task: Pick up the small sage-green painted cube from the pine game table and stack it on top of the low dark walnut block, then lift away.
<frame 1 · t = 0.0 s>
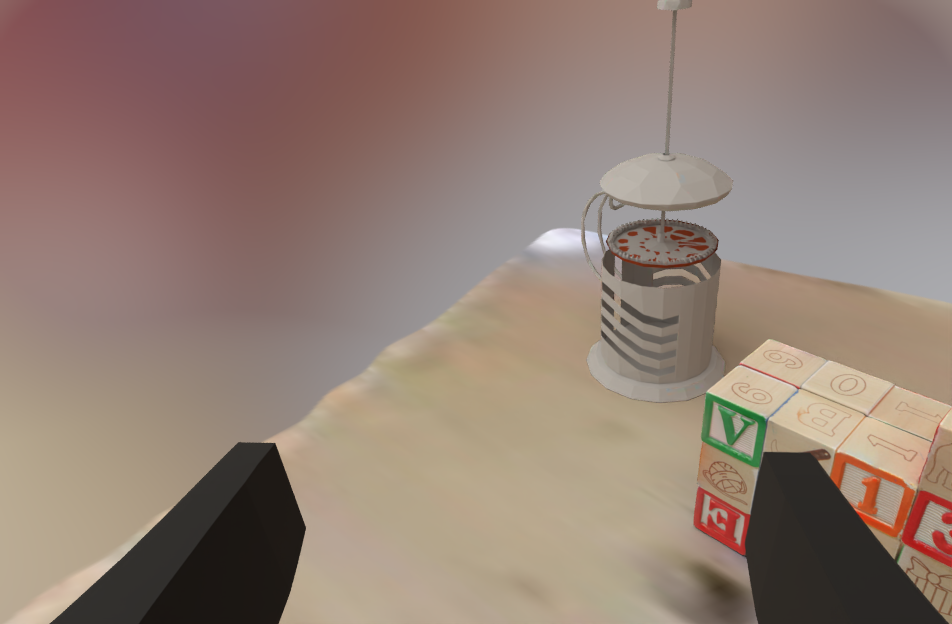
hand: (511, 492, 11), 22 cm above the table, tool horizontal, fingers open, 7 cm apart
stack of blocks: (930, 618, 32), on the table
french press: (645, 358, 51), on the table
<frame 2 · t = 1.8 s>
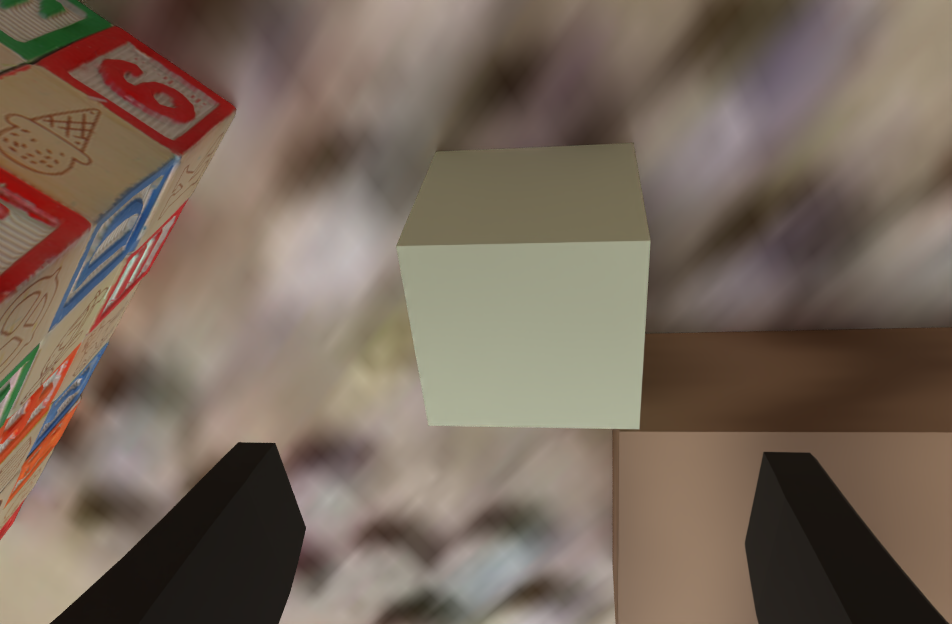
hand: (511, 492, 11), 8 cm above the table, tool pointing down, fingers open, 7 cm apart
sage cube: (536, 232, 17), on the table
stack of blocks: (9, 309, 21), on the table
walnut block: (780, 456, 21), on the table
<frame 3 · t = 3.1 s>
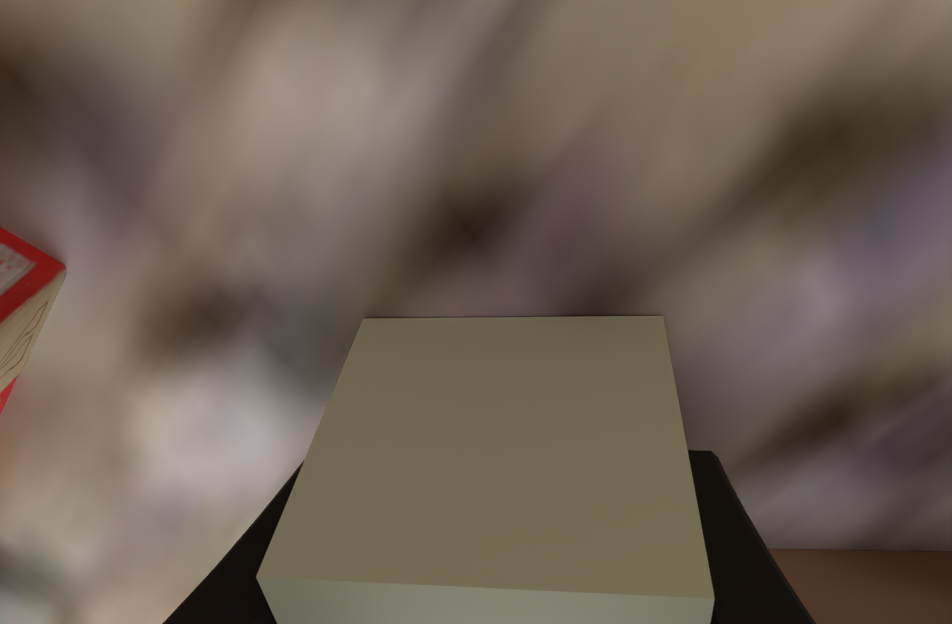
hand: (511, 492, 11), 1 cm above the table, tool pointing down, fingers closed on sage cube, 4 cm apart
sage cube: (517, 425, 12), on the table, touching gripper
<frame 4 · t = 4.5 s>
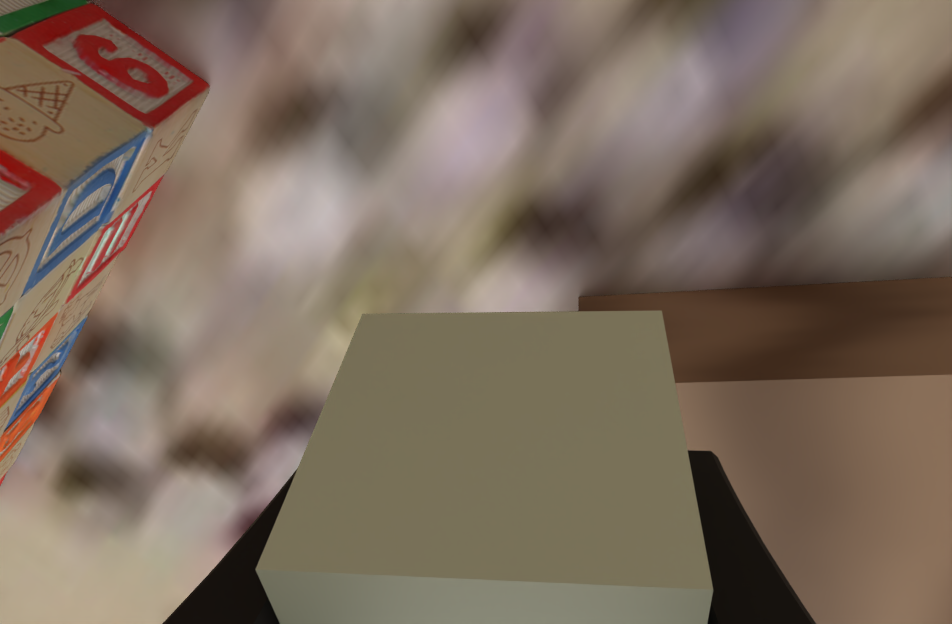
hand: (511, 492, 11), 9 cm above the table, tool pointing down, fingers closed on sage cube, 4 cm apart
sage cube: (516, 421, 12), point 7 cm above the table, touching gripper
walnut block: (752, 416, 21), on the table
when the fingers open (6 cm above the table, at t = 6.2 s): sage cube drops 1 cm, resting on walnut block.
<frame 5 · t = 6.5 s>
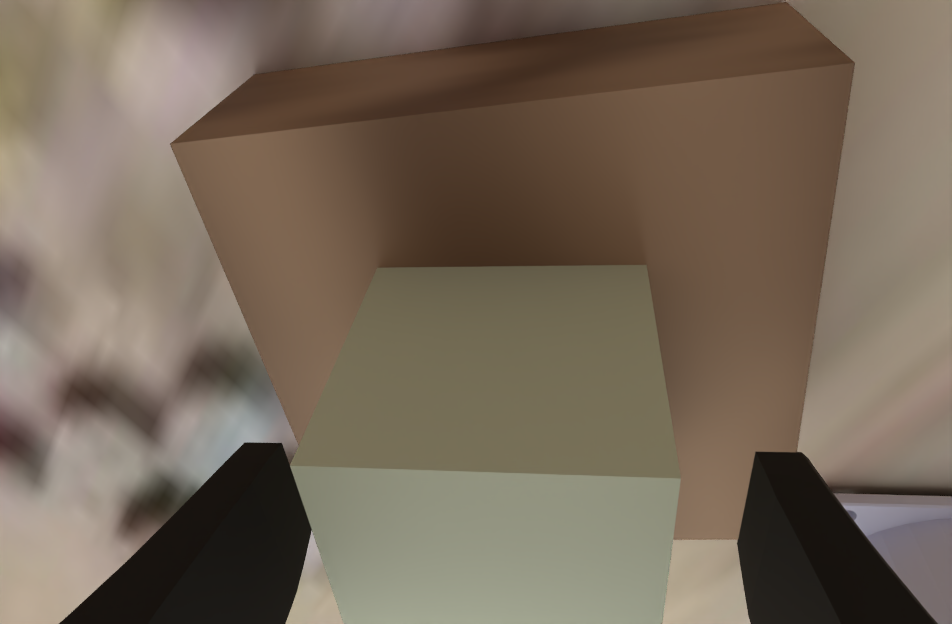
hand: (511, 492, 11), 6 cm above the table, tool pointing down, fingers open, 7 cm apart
sage cube: (514, 369, 13), point 4 cm above the table, touching walnut block
walnut block: (532, 258, 16), on the table, touching sage cube
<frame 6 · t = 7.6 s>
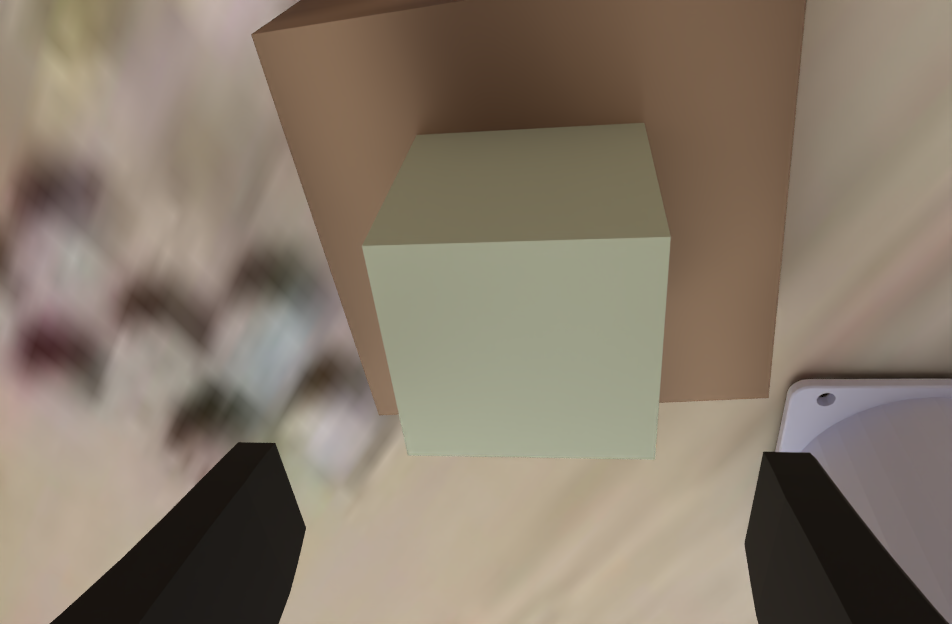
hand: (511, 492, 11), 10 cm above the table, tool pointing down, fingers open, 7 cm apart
sage cube: (533, 229, 15), point 4 cm above the table, touching walnut block
walnut block: (547, 163, 18), on the table, touching sage cube
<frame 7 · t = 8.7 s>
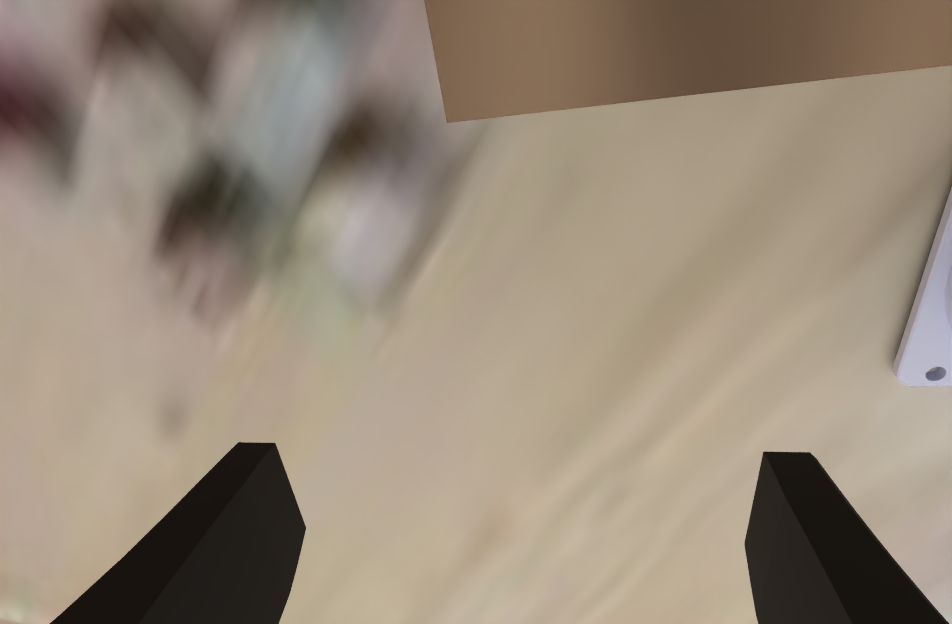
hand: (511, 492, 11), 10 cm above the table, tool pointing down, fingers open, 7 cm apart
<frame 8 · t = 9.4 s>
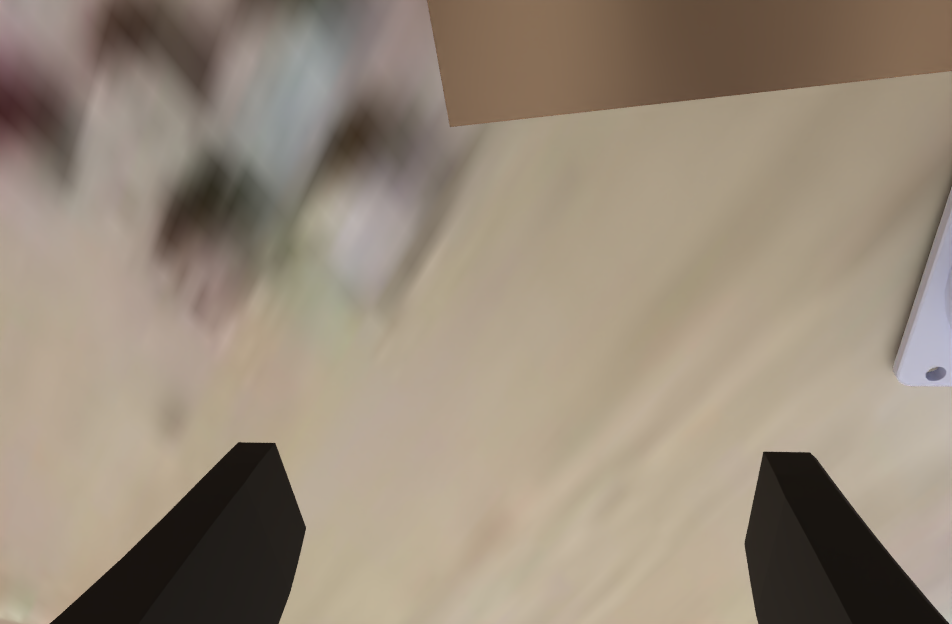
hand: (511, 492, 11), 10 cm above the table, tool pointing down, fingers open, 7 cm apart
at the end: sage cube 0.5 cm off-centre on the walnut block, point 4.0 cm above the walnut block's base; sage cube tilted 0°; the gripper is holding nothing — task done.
